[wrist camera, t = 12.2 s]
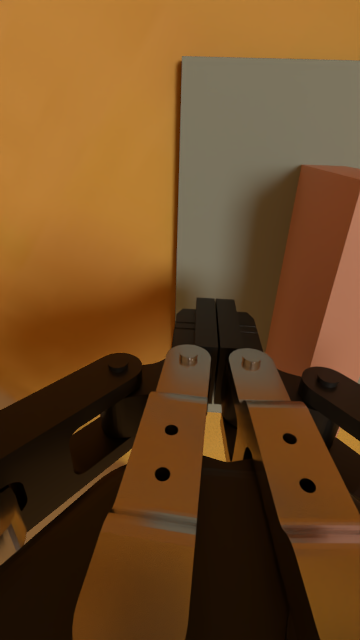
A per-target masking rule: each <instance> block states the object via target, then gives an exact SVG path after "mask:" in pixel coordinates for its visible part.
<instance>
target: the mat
mask: <svg viewBox="0 0 360 640" xmlns="http://www.w3.org/2000/svg"><path fill="white" fill-rule="evenodd" d="M301 165H329V166H347V167H352V168H358V169H360V61H352V60H312V59H272V58H232V57H192V56H182V80H181V118H180V156H179V194H178V232H177V271H176V309H175V321H176V315H177V313H178V312H179V311H181V310H182V309H183V308H184V309H196V298H197V297H200V298H215V300H216V298H218V299H234V300H235V305H236V311H237V312H247V313H248V314H249V315H250V316H251V317H252V318H254V321H255V324H256V328H257V331H258V335H259V338H260V342H261V345H262V349H263V352H264V353H265V351H266V346H267V341H268V336H269V331H270V326H271V320H272V315H273V310H274V305H275V300H276V295H277V289H278V284H279V279H280V274H281V269H282V264H283V258H284V253H285V248H286V243H287V238H288V233H289V227H290V222H291V217H292V212H293V207H294V202H295V196H296V191H297V186H298V181H299V176H300V171H301ZM357 383H358V384H360V377H359V380H358V382H357ZM207 412H219V413H221V412H222V407H221V405H219V404H214V396H213V399H212V404H208V411H207Z"/></svg>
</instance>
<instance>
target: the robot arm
mask: <svg viewBox="0 0 360 640" xmlns="http://www.w3.org/2000/svg"><path fill="white" fill-rule="evenodd" d="M213 396H214V404H219V405H221V407H222V412H221V420H220V426H221V432H222V438H223V445H224V451H225V457H226V462H223V461H220V460H216V459H213V458H210V457H206V456H203V444H204V433H205V422H206V415H207V411H208V404H212V399H213ZM99 414H100V416H101V417H99V418H98V419H96V420H94V421H93V422H91V423H90V424H88V425H87V426H85V427H84V428H82V429H81V430H79V431H78V432H76V433H75V434H73V433H74V432H75V431H76V430H77V429H78V428H79V427H81V426H82V425H84V424H85V423H87V422H88V421H90V420H91V419H93V418H94V417H96V416H98V415H99ZM339 427H341V428H342V429H344V430H345V431H346V432H348V433H349V434H351V435H352V436H353V437H355V438H356V439H358V440H359V441H360V384H358V383H357V382H355V381H353V380H352V379H350V378H348V377H346V376H345V375H343V374H341V373H340V372H338V371H335V370H333V369H330V368H326V367H317V366H316V367H309V368H307V369H305V370H304V371H303V373H302V376H301V377H300V376H297V375H293V374H289V373H286V372H283V371H281V370H278V369H277V368H276V366H275V364H274V361H273V360H272V358H271V357H270V356H269V355H267V354H266V353H264V352H263V349H262V345H261V342H260V338H259V335H258V331H257V328H256V324H255V321H254V318H252V317H251V316H250V315H249V314H248V313H247V312H237V311H236V305H235V300H234V299H218V298H216V300H215V298H200V297H197V298H196V309H184V308H183V309H182V310H181V311H179V312H178V313H177V315H176V321H175V329H174V335H173V342H172V348H171V349H170V350H169V351H168V353H167V355H166V358H165V359H164V360H162V361H160V362H157V363H154V364H148V365H142V363H141V361H140V360H139V359H138V358H137V357H136V356H134V355H131V354H127V353H115V354H110V355H107V356H105V357H103V358H101V359H99V360H97V361H95V362H93V363H91V364H89V365H87V366H85V367H83V368H81V369H80V370H78V371H76V372H74V373H72V374H70V375H68V376H66V377H64V378H62V379H60V380H58V381H56V382H54V383H52V384H50V385H48V386H47V387H45V388H43V389H41V390H39V391H37V392H35V393H33V394H31V395H29V396H27V397H25V398H23V399H21V400H19V401H17V402H15V403H14V404H12V405H10V406H8V407H6V408H4V409H2V410H0V640H360V455H359V454H358V453H356V452H355V451H354V450H352V449H351V448H350V447H348V446H347V445H346V444H344V443H343V442H342V441H340V440H339V439H338V438H336V434H337V431H338V429H339ZM72 434H73V435H72ZM130 449H132V450H131V453H130V456H129V459H128V463H127V464H126V465H124V466H121V467H119V468H117V469H115V470H113V471H111V472H110V473H108V474H107V475H105V476H104V477H102V478H101V479H100V480H99V481H97V482H96V483H95V484H94V485H93V486H92V487H91V488H89V489H88V490H87V491H86V492H85V493H84V494H83V495H81V496H80V497H79V498H78V499H77V500H75V501H74V502H73V503H72V504H71V505H70V506H69V507H67V508H66V509H65V510H64V511H63V512H62V513H61V514H59V515H58V516H57V517H56V518H55V519H54V520H52V521H51V522H50V523H49V524H48V525H47V526H45V527H44V528H43V529H42V530H41V531H40V532H38V533H37V534H36V535H35V536H34V537H33V538H32V539H30V540H29V541H28V542H27V543H26V544H25V545H24V543H25V540H26V534H27V532H28V531H29V530H30V529H32V528H33V527H34V526H35V525H37V524H38V523H39V522H40V521H42V520H43V519H44V518H45V517H47V516H48V515H49V514H50V513H52V512H53V511H54V510H55V509H57V508H58V507H59V506H60V505H62V504H63V503H64V502H65V501H67V500H68V499H69V498H70V497H72V496H73V495H74V494H75V493H76V492H78V491H79V490H80V489H82V488H83V487H84V486H85V485H87V484H88V483H89V482H90V481H92V480H93V479H94V478H95V477H97V476H98V475H99V474H100V473H102V472H103V471H104V470H105V469H107V468H108V467H109V466H110V465H112V464H113V463H114V462H115V461H117V460H118V459H119V458H120V457H122V456H123V455H124V454H125V453H127V452H128V451H129V450H130Z"/></svg>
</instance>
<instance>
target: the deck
mask: <svg viewBox="0 0 360 640" xmlns="http://www.w3.org/2000/svg"><path fill="white" fill-rule="evenodd" d="M265 353H266V354H267V355H269V356H270V357H271V358H272V360H273V361H274V364H275V366H276V368H277V369H278V370H281V371H283V372H286V373H289V374H293V375H297V376H300V377H301V376H302V373H303V371H304V370H305V369H307V368H309V367H316V366H317V367H326V368H330V369H333V370H335V371H338V372H340V373H341V374H343V375H345V376H346V377H348V378H350V379H352V380H353V381H355V382H358V380H359V377H360V169H358V168H352V167H347V166H329V165H301V171H300V176H299V181H298V186H297V191H296V196H295V202H294V207H293V212H292V217H291V222H290V227H289V233H288V238H287V243H286V248H285V253H284V258H283V264H282V269H281V274H280V279H279V284H278V289H277V295H276V300H275V305H274V310H273V315H272V320H271V326H270V331H269V336H268V341H267V346H266V351H265ZM339 429H340V427H339ZM339 429H338V431H337V434H338V432H339ZM337 434H336V437H337Z"/></svg>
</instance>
